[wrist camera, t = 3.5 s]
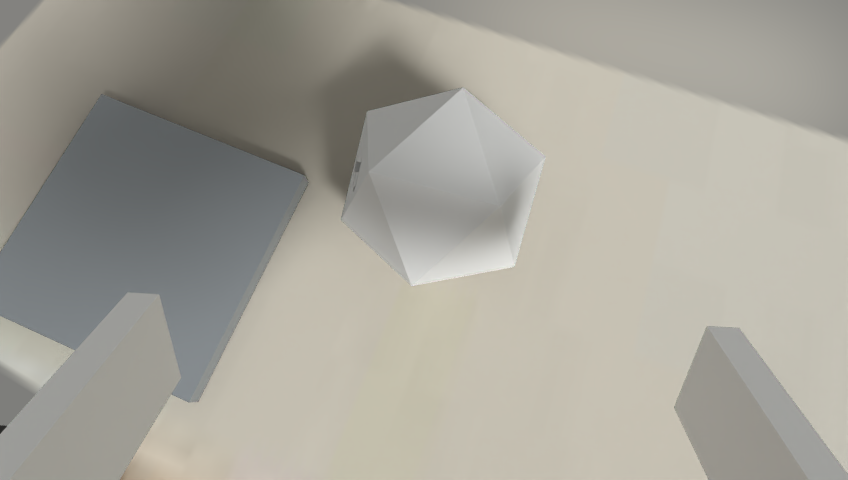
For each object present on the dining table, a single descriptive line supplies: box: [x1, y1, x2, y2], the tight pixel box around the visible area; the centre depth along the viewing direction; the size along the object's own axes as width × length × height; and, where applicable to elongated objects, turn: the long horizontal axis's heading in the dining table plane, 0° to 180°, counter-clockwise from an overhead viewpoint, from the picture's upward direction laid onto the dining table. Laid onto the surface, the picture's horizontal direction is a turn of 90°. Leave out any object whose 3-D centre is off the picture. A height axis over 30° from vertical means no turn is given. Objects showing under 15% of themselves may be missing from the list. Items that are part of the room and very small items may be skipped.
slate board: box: [0, 94, 309, 402], centre depth 26 cm, size 12×12×1 cm
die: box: [341, 87, 546, 286], centre depth 23 cm, size 8×9×10 cm
